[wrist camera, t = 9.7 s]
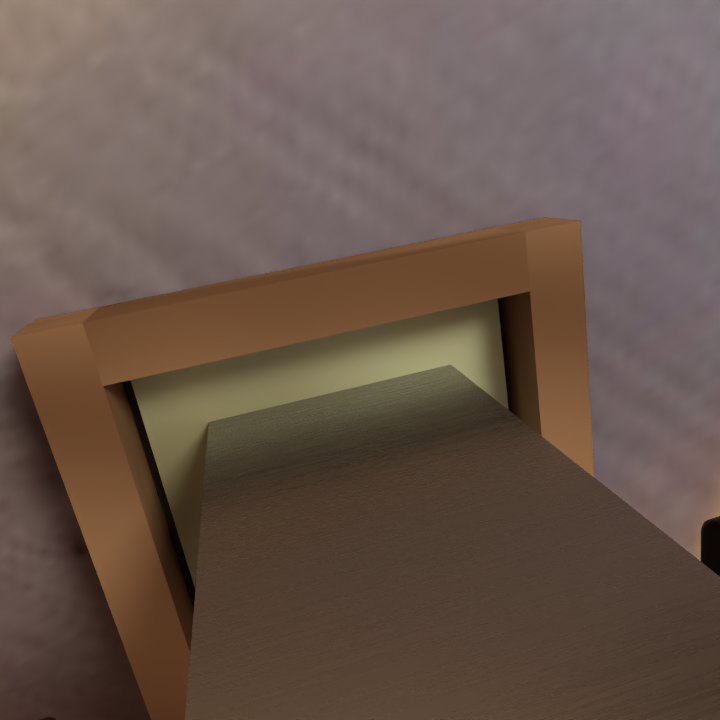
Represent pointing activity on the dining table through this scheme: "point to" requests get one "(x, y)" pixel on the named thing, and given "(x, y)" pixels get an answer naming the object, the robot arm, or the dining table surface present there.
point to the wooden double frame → (285, 389)
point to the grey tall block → (434, 571)
